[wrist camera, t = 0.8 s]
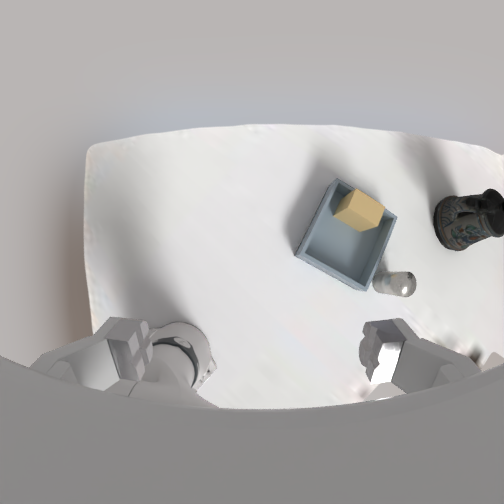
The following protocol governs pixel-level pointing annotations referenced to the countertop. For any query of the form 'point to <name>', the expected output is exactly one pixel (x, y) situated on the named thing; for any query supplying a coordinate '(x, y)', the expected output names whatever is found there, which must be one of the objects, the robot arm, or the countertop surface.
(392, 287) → the tin
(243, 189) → the countertop surface
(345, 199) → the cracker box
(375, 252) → the tote
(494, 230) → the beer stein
